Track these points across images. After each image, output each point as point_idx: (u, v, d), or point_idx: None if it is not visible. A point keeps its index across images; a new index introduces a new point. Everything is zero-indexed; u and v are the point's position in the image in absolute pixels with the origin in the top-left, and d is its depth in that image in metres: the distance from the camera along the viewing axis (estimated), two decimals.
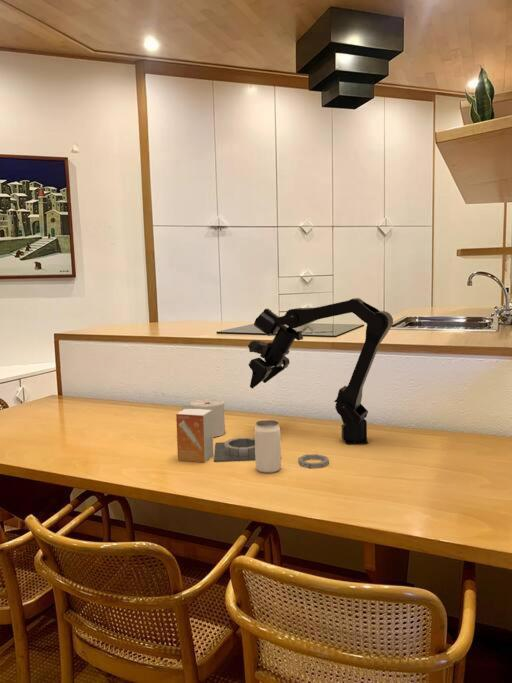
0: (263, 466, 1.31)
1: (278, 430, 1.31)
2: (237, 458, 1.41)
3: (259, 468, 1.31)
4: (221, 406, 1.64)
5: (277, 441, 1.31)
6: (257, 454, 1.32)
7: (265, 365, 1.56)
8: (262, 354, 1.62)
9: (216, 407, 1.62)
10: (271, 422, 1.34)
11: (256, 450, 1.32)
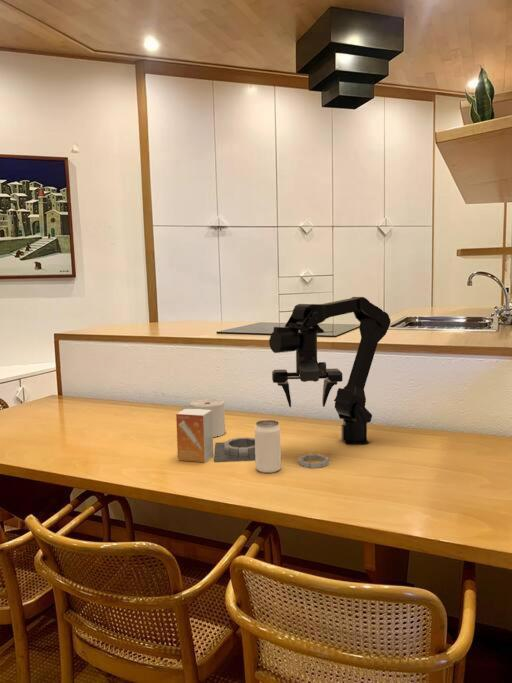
0: (263, 466, 1.31)
1: (278, 430, 1.31)
2: (237, 458, 1.41)
3: (259, 468, 1.31)
4: (221, 406, 1.64)
5: (277, 441, 1.31)
6: (257, 454, 1.32)
7: (334, 369, 1.45)
8: None
9: (216, 407, 1.62)
10: (271, 422, 1.34)
11: (256, 450, 1.32)
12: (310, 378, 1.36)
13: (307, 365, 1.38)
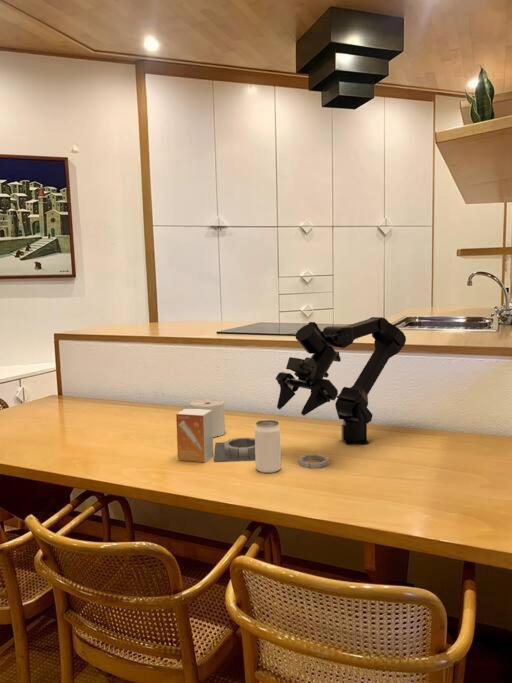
0: (263, 466, 1.31)
1: (278, 430, 1.31)
2: (237, 458, 1.41)
3: (259, 468, 1.31)
4: (221, 406, 1.64)
5: (277, 441, 1.31)
6: (257, 454, 1.32)
7: None
8: (312, 374, 1.38)
9: (216, 407, 1.62)
10: (271, 422, 1.34)
11: (256, 450, 1.32)
12: (291, 365, 1.37)
13: None
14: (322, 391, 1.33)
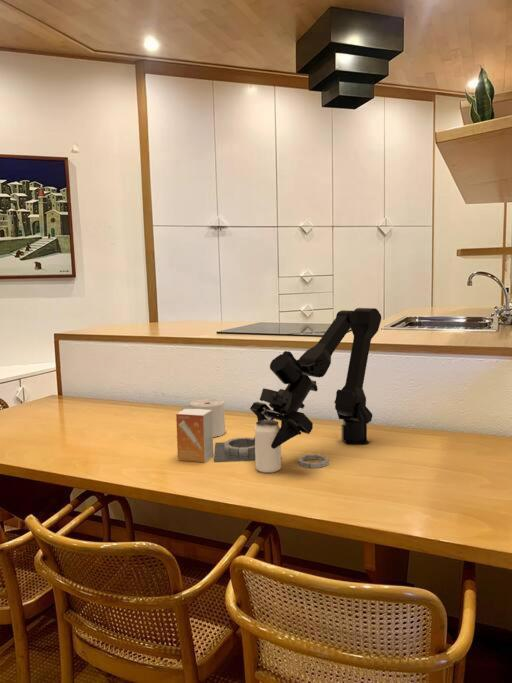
0: (263, 466, 1.31)
1: (278, 430, 1.31)
2: (237, 458, 1.41)
3: (259, 468, 1.31)
4: (221, 406, 1.64)
5: None
6: (257, 454, 1.32)
7: None
8: (286, 406, 1.32)
9: (216, 407, 1.62)
10: (271, 422, 1.34)
11: (256, 450, 1.32)
12: (265, 397, 1.32)
13: None
14: (292, 424, 1.29)
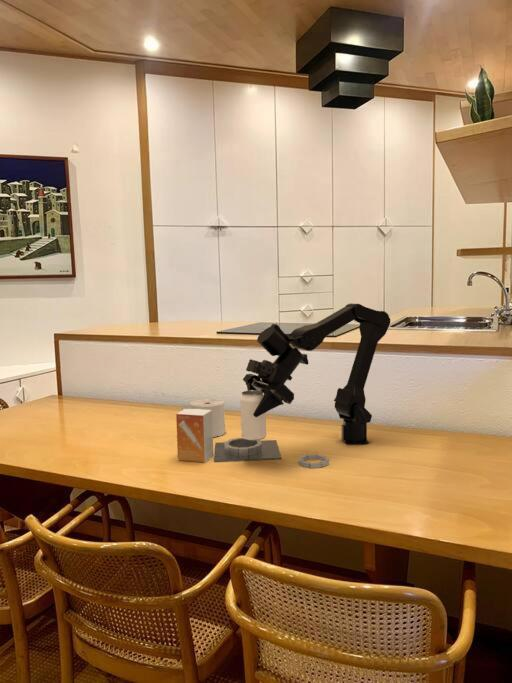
0: (247, 434, 1.36)
1: (261, 399, 1.35)
2: (237, 458, 1.41)
3: (243, 436, 1.37)
4: (221, 406, 1.64)
5: None
6: (242, 422, 1.37)
7: None
8: (271, 377, 1.36)
9: (216, 407, 1.62)
10: (257, 392, 1.39)
11: (241, 418, 1.37)
12: (250, 367, 1.36)
13: None
14: (273, 393, 1.33)
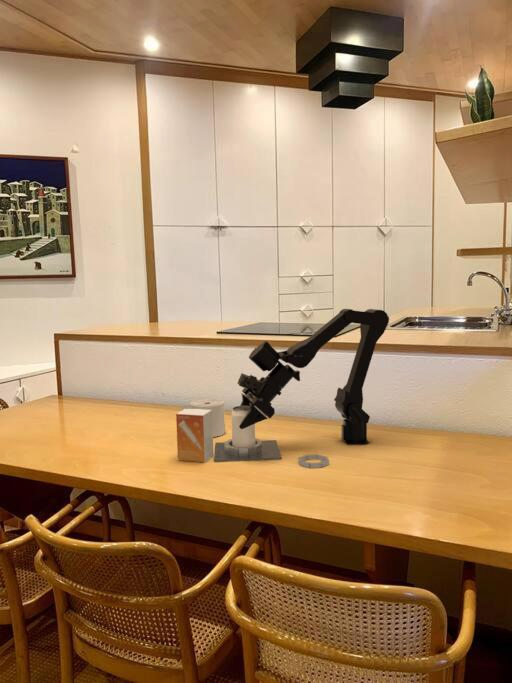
0: (234, 446, 1.46)
1: None
2: (237, 458, 1.41)
3: None
4: (221, 406, 1.64)
5: None
6: (232, 435, 1.48)
7: (271, 406, 1.41)
8: (257, 391, 1.45)
9: (216, 407, 1.62)
10: (248, 408, 1.48)
11: None
12: (239, 381, 1.46)
13: None
14: (256, 408, 1.40)
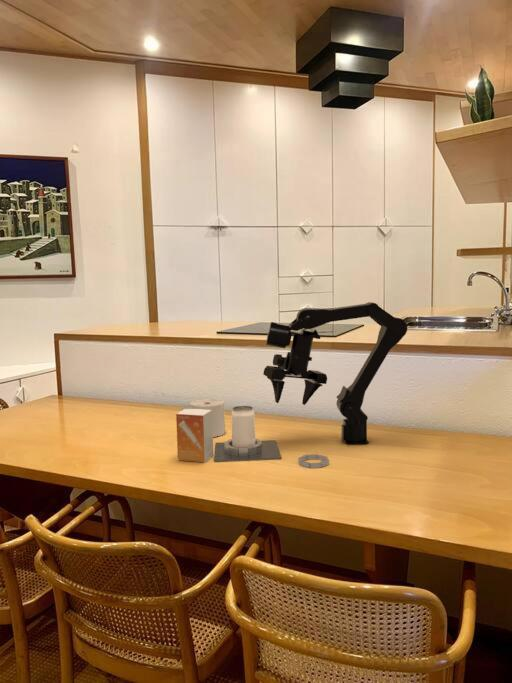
0: (234, 446, 1.46)
1: (248, 415, 1.45)
2: (237, 458, 1.41)
3: None
4: (221, 406, 1.64)
5: (247, 425, 1.45)
6: (232, 435, 1.48)
7: (275, 368, 1.48)
8: (284, 365, 1.54)
9: (216, 407, 1.62)
10: (248, 408, 1.48)
11: None
12: None
13: None
14: (268, 377, 1.51)
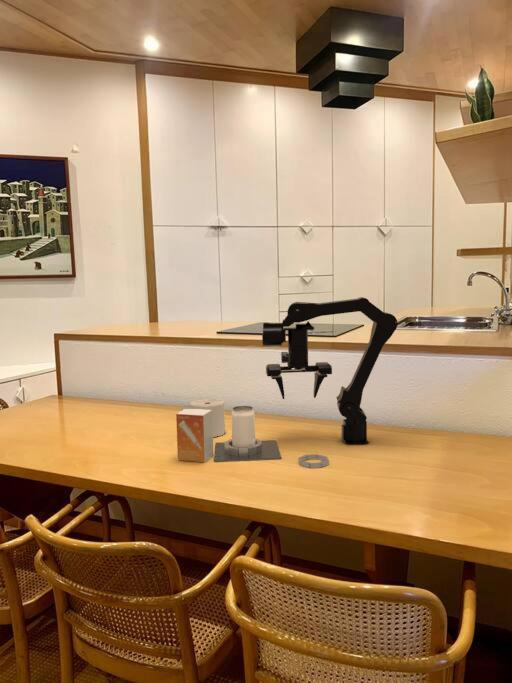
0: (234, 446, 1.46)
1: (248, 415, 1.45)
2: (237, 458, 1.41)
3: None
4: (221, 406, 1.64)
5: (247, 425, 1.45)
6: (232, 435, 1.48)
7: (271, 366, 1.52)
8: (287, 362, 1.56)
9: (216, 407, 1.62)
10: (248, 408, 1.48)
11: None
12: None
13: None
14: None
